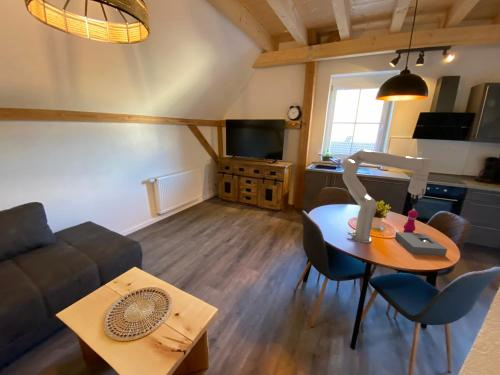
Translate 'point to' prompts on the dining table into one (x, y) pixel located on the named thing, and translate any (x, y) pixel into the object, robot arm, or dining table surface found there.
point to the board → (420, 244)
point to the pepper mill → (410, 222)
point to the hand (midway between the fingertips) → (413, 203)
